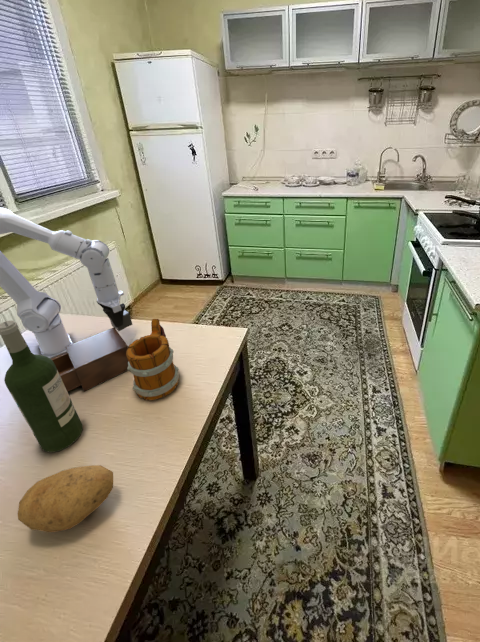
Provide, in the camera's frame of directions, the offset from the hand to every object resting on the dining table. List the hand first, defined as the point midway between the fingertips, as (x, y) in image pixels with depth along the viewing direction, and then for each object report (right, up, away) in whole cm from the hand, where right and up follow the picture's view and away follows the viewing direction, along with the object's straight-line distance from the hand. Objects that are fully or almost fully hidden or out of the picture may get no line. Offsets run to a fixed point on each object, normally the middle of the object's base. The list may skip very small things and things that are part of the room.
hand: (116, 322), depth 99 cm
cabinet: (+1, -11, -9) cm, 14 cm away
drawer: (-7, -14, -15) cm, 21 cm away
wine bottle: (+3, -21, -28) cm, 35 cm away
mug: (+19, -13, -13) cm, 26 cm away
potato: (+15, -27, -41) cm, 51 cm away
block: (+1, -1, +2) cm, 2 cm away
